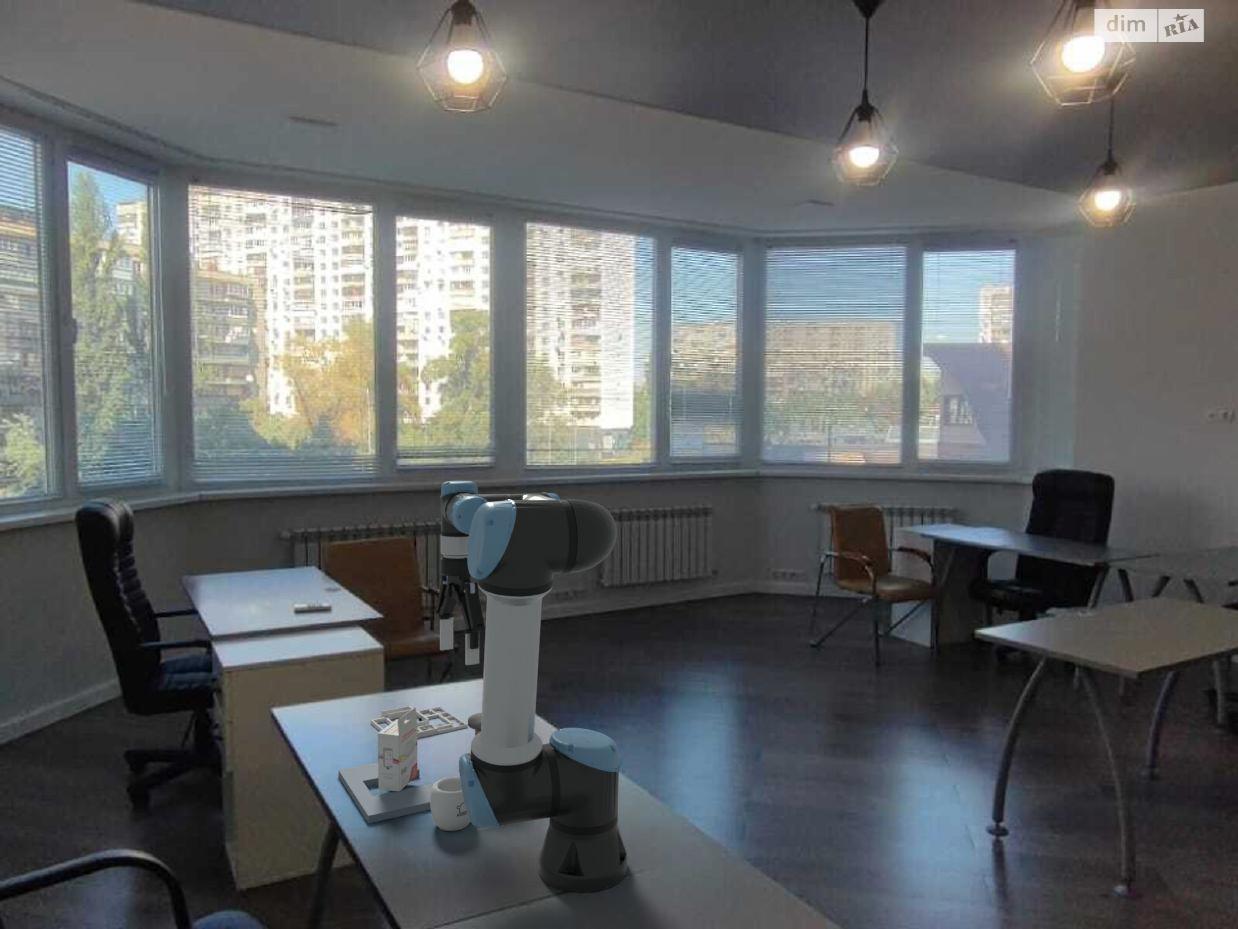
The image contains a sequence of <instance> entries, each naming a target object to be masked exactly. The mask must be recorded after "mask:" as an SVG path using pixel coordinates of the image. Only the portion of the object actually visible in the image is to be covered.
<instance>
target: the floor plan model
mask: <svg viewBox="0 0 1238 929" xmlns="http://www.w3.org/2000/svg"><path fill="white" fill-rule="evenodd" d="M413 708H414V707H412V706H410V705H405V706H401V707H397V708H396V707H395V708H391V709H385V710H384V709H383V710H381V717H379V718H372V719H370V725H372V726H373V727H374V728H375V729H376V730H377V731H378V732H380V731H382V730H383V729H384V728H383V727H382V726H381V725H379V724H380V723H386V724H388V725H390V724H391V723H392V722H393V720H396V719H400V718H401V717H402V716H404V715H405V714H406V713H408V712H409V711H411V710H412V709H413ZM437 711H440V712H439V713H438V712H437ZM426 713H427V715H425V714H426ZM416 716H417V718H418V720H419V721H417V739H419V738H420V739H421V738H425V737H428V736H429V737H430V736H434V735H441V734H443V733H449V732H453V731H458V730H462V729H467V728H468V727H469V726H468V723H466V722H464V720H461V719H460V718H459V717H458V716H456V715H453V714H451V713H450V712H448V711H447V710H445V709H444V708H442V707H440V706H439V707H434V708H433V707H432V708H429V709H423V710H417V709H416ZM436 718H438V719H440V720H442V721H443V722H444V723H445V724H437V725H436V726H435V725H434V724H433V723H430V720H431V719H436ZM406 720H410V718H408V717H407V719H406ZM452 721H455V722H456V723H457V724H459V725H457V726H456V725H454V723H453V722H452Z"/></svg>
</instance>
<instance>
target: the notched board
mask: <svg viewBox="0 0 1238 929" xmlns="http://www.w3.org/2000/svg"><path fill="white" fill-rule="evenodd" d="M419 777H420V768H419V767H418V766H417V775H416V776H415V777H414V778H419ZM338 779H339V780H340V782H341V783H342V785H343V786H344V788H345V789H346V791H347V793H348V794H349V796H350V798H351V799H352V800H353V802H354V804H355V805H356V806H357V808H358V809H359V812H360V813H361V814H362V816H363V818H365V821H366V822H367V824H373V823H377V822H381V821H385V820H390V819H394V818H398V817H404V816H408V815H413V814H417V813H421V812H426V811H429V810H430V811H431V808H430V795H431V789H432V787H433V785H434V783H429V784H428V783H427V784H423V785H419V786H418V785H417V786H413V787H409V788H405V789H404V788H403V789H402V790H401V791H391V792H385V793H381V794H377V795H373V794H372V793H371V791H370V789H369V787H374V786H378V785H379V781H378V761H377V762H372V763H367V764H361V765H357V766H352V767H347V768H342V769H338ZM407 814H408V815H407Z"/></svg>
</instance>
